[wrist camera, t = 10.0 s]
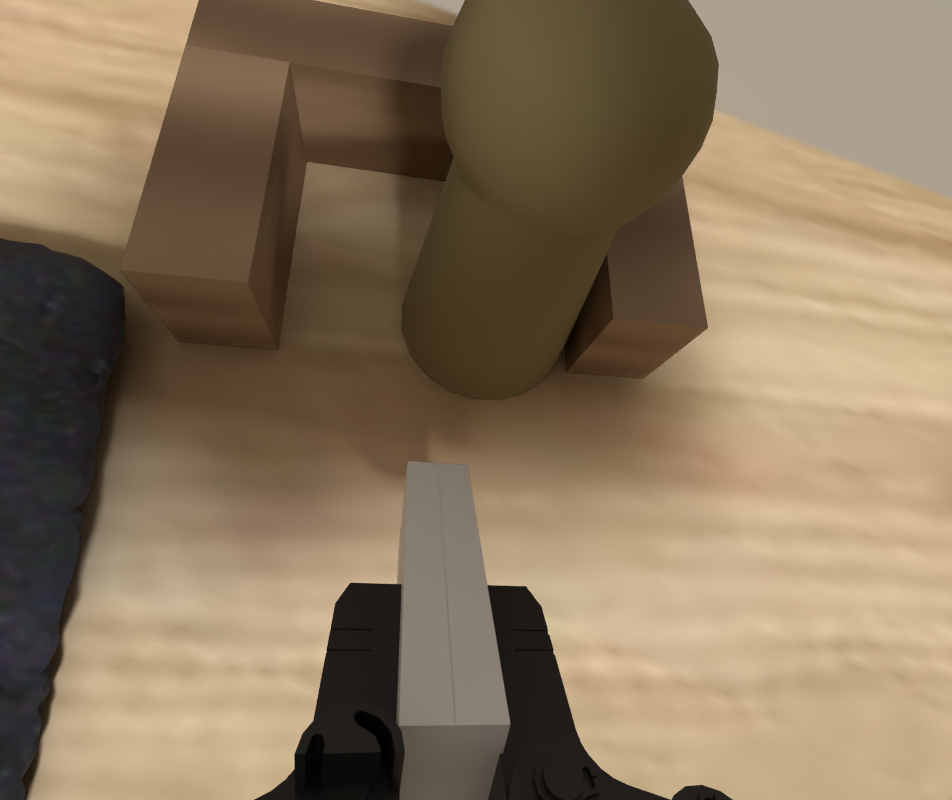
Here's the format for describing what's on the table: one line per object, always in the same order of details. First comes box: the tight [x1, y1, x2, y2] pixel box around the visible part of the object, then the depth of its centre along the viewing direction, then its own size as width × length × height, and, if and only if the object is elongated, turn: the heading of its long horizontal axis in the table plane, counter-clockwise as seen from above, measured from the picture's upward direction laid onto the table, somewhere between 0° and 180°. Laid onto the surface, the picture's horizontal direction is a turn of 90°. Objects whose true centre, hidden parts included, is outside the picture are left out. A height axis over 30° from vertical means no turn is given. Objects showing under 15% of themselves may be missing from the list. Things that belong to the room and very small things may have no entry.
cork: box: [402, 0, 719, 400], centre depth 13 cm, size 6×6×11 cm
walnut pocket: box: [120, 0, 708, 378], centre depth 18 cm, size 11×16×4 cm
